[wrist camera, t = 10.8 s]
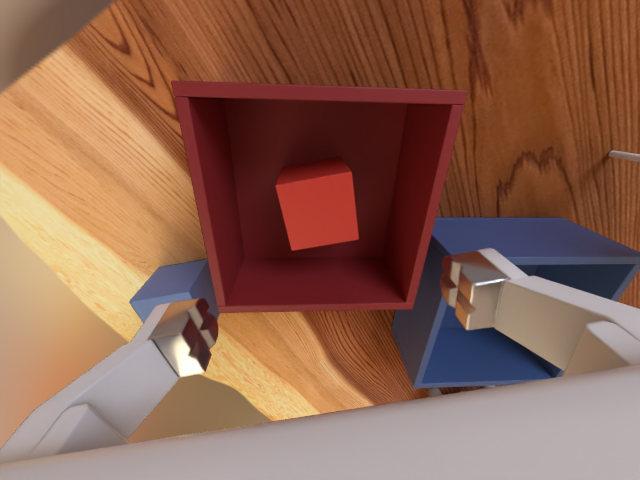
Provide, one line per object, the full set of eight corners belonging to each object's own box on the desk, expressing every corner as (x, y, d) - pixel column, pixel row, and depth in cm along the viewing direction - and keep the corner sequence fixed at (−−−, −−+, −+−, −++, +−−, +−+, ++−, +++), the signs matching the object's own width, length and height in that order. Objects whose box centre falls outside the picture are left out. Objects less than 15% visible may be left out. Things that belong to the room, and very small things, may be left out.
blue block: (158, 267, 23) (128, 301, 19) (208, 258, 23) (188, 291, 19) (180, 305, 25) (157, 343, 21) (226, 297, 25) (211, 335, 21)
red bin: (215, 87, 17) (170, 80, 11) (414, 94, 18) (468, 90, 12) (239, 260, 23) (218, 313, 17) (386, 259, 24) (412, 309, 18)
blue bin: (415, 217, 22) (454, 257, 16) (562, 217, 23) (649, 256, 17) (390, 330, 28) (413, 388, 22) (507, 327, 29) (558, 383, 23)
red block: (280, 167, 19) (274, 185, 15) (342, 156, 19) (352, 171, 15) (293, 223, 21) (291, 251, 17) (348, 213, 21) (359, 239, 17)
